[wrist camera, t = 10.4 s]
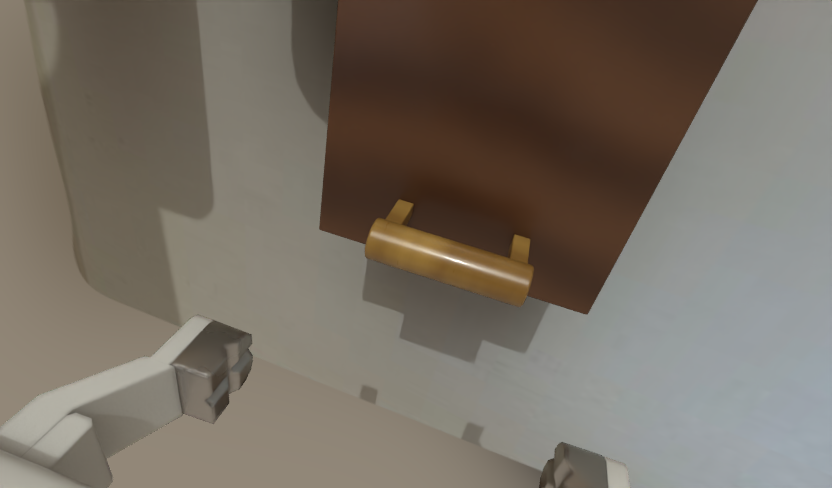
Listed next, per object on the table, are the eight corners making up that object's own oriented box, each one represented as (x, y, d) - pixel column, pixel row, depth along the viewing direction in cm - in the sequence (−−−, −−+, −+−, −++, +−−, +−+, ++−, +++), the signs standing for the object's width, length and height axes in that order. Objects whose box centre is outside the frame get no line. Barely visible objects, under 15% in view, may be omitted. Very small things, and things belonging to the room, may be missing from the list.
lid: (586, 304, 21) (591, 378, 17) (325, 222, 22) (279, 273, 19) (792, -83, 13) (882, -97, 9) (361, -173, 14) (292, -216, 11)
